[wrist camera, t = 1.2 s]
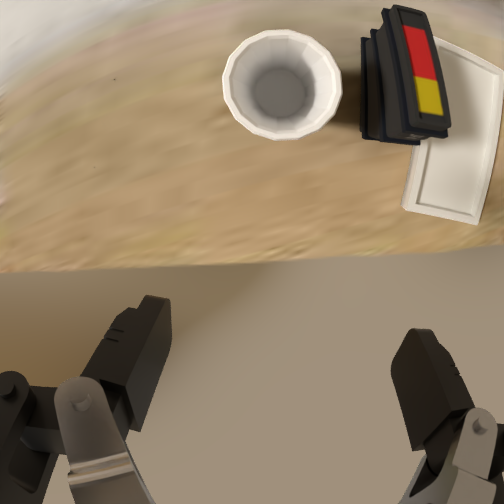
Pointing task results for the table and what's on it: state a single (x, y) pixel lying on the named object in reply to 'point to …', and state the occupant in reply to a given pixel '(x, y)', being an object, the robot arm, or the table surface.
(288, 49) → the cup
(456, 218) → the cradle
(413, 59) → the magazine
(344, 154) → the table surface
